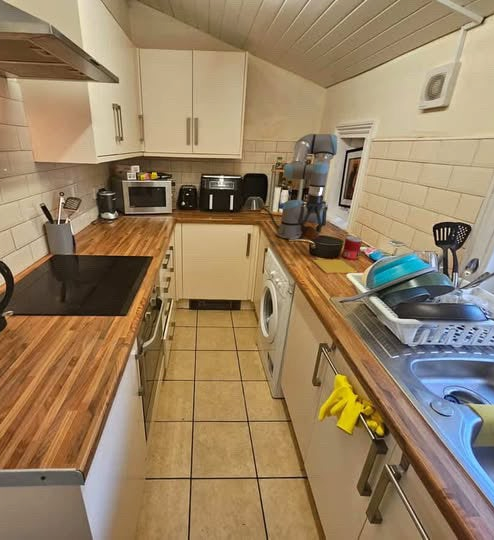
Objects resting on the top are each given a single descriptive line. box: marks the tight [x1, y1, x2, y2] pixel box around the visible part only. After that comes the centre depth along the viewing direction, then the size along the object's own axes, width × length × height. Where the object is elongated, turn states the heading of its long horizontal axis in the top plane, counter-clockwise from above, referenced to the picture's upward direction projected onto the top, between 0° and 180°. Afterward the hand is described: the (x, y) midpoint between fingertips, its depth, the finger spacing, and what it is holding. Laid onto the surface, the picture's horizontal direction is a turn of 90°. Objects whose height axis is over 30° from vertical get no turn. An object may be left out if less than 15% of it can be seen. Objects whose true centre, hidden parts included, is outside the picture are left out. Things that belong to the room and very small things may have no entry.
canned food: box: [341, 235, 363, 261], centre depth 161 cm, size 8×8×11 cm
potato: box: [304, 225, 320, 240], centre depth 161 cm, size 6×12×6 cm, turn 29°
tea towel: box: [312, 259, 358, 274], centre depth 151 cm, size 16×16×1 cm
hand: (309, 237), depth 163 cm, fingers closed on potato, 7 cm apart
